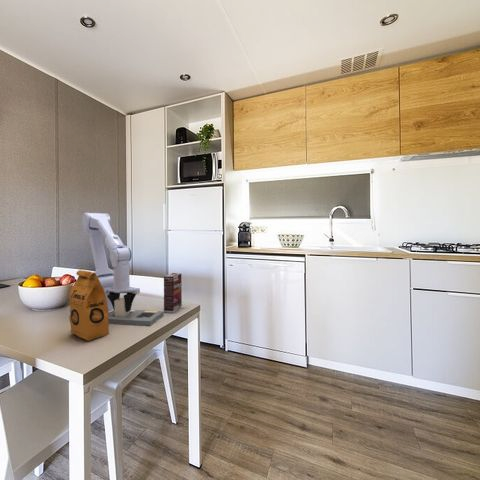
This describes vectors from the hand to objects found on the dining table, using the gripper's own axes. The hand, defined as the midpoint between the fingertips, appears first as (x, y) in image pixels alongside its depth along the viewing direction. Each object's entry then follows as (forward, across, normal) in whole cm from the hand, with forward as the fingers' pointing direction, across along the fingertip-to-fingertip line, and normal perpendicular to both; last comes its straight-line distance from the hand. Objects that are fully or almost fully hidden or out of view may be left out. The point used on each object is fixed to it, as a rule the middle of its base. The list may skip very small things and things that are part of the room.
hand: (122, 310), depth 98 cm
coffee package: (+3, -2, -15) cm, 15 cm away
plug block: (+3, 0, 0) cm, 3 cm away
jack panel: (+3, +5, 0) cm, 6 cm away
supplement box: (+3, +16, +13) cm, 21 cm away
